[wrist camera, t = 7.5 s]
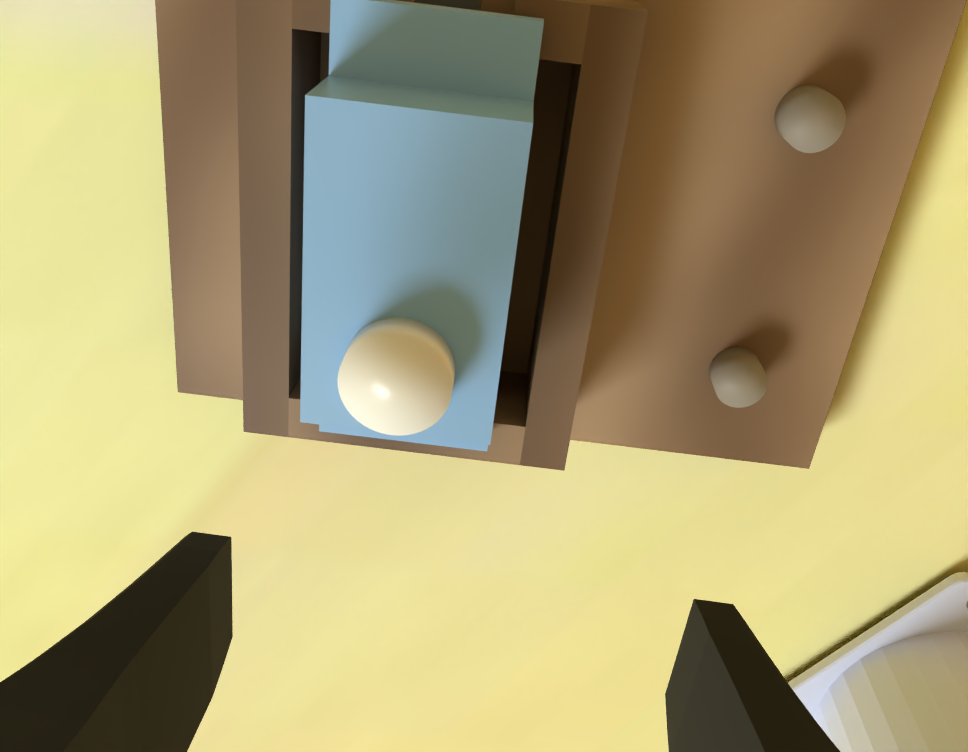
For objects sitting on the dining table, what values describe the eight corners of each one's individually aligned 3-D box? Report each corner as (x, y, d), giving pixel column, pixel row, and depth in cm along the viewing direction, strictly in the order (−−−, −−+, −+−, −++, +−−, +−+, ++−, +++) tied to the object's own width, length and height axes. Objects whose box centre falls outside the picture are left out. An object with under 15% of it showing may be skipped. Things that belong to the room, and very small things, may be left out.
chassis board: (942, -5, 18) (1029, 14, 15) (796, 443, 24) (838, 529, 20) (171, -101, 18) (92, -103, 15) (194, 369, 24) (139, 444, 20)
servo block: (363, -24, 18) (295, 3, 13) (543, -2, 18) (546, 34, 13) (347, 362, 22) (290, 500, 17) (493, 380, 22) (480, 523, 17)
